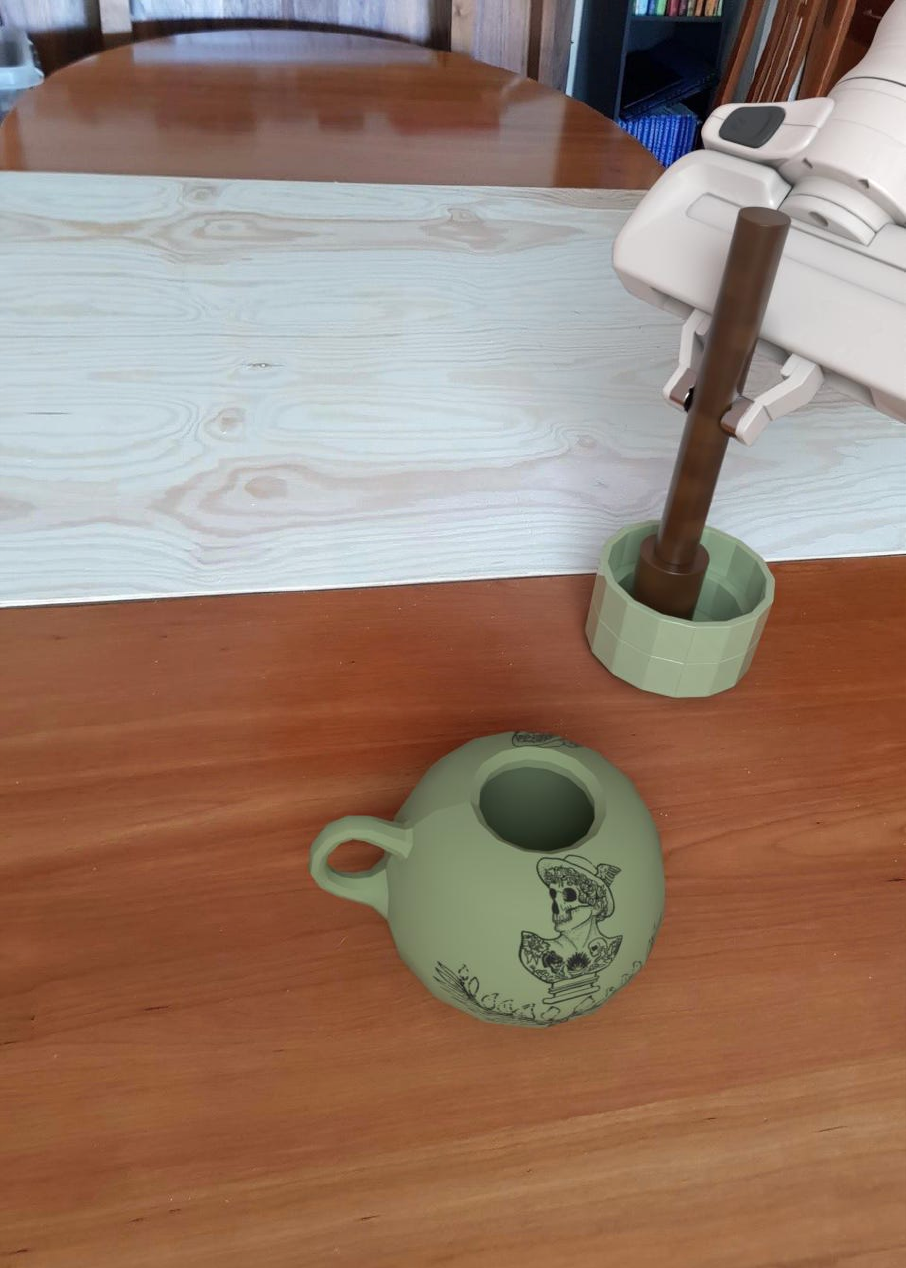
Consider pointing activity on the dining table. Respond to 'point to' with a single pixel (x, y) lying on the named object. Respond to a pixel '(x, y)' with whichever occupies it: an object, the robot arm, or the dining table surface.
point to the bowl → (674, 647)
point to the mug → (513, 878)
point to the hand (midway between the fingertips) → (703, 420)
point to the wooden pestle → (711, 416)
